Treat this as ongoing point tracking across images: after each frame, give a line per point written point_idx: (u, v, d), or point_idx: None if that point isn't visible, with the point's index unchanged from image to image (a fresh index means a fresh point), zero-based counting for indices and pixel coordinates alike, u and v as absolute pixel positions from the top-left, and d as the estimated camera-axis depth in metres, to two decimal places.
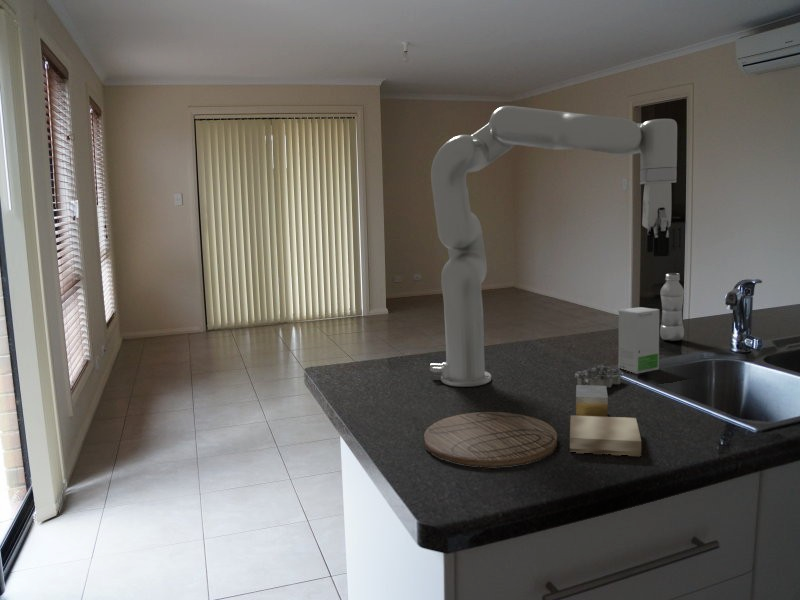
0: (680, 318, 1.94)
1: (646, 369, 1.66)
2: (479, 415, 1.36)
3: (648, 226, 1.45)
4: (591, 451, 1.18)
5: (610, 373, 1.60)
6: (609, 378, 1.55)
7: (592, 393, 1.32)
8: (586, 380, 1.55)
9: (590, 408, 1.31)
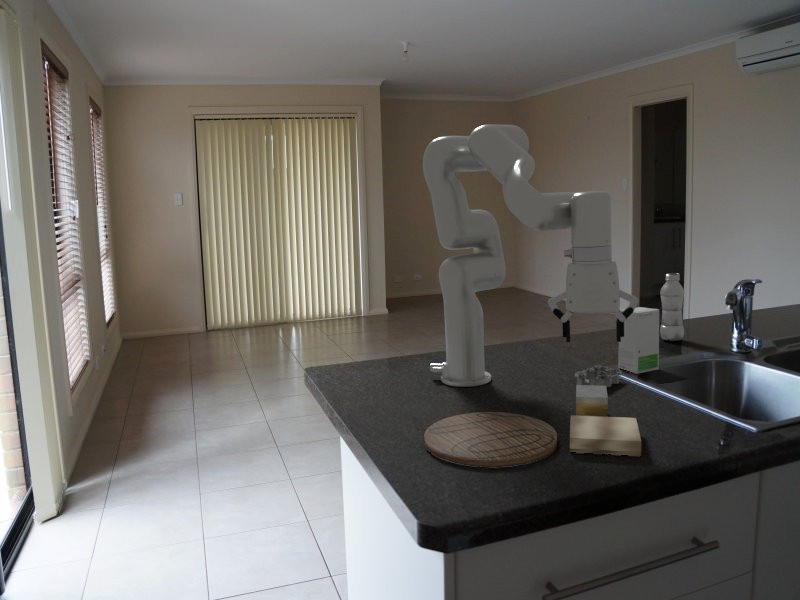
0: (680, 318, 1.94)
1: (646, 369, 1.66)
2: (479, 415, 1.36)
3: (616, 310, 1.28)
4: (591, 451, 1.18)
5: (608, 373, 1.60)
6: (609, 378, 1.55)
7: (592, 393, 1.32)
8: (586, 380, 1.55)
9: (590, 408, 1.31)
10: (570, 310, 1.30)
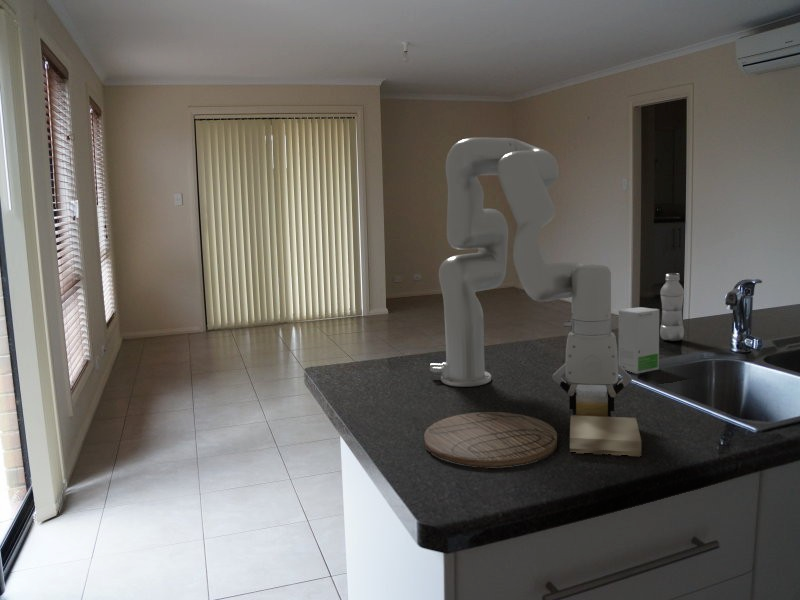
0: (680, 318, 1.94)
1: (646, 369, 1.66)
2: (479, 415, 1.36)
3: (615, 382, 1.30)
4: (591, 451, 1.18)
5: None
6: None
7: (592, 393, 1.33)
8: None
9: (590, 407, 1.31)
10: (569, 381, 1.32)
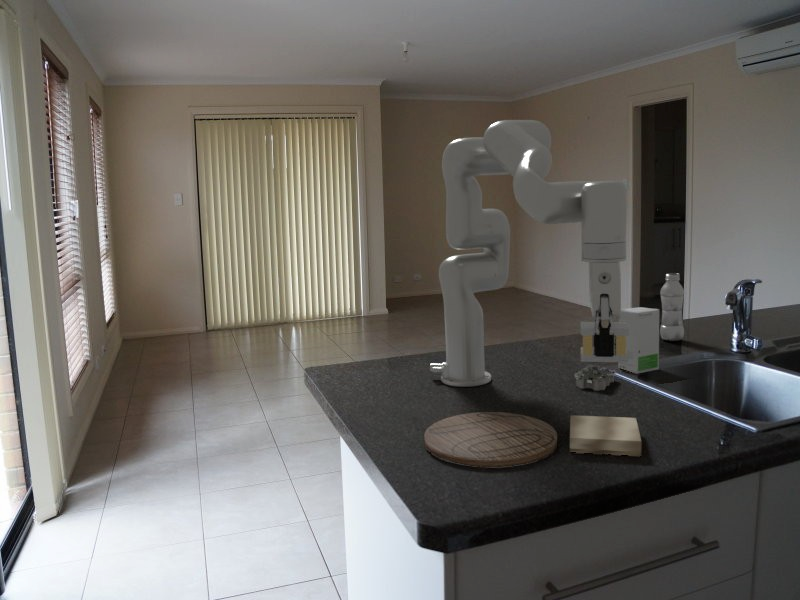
0: (680, 318, 1.94)
1: (646, 369, 1.66)
2: (479, 415, 1.36)
3: None
4: (591, 451, 1.18)
5: (602, 372, 1.61)
6: (608, 377, 1.56)
7: (614, 325, 1.19)
8: (589, 381, 1.54)
9: None
10: (620, 315, 1.14)
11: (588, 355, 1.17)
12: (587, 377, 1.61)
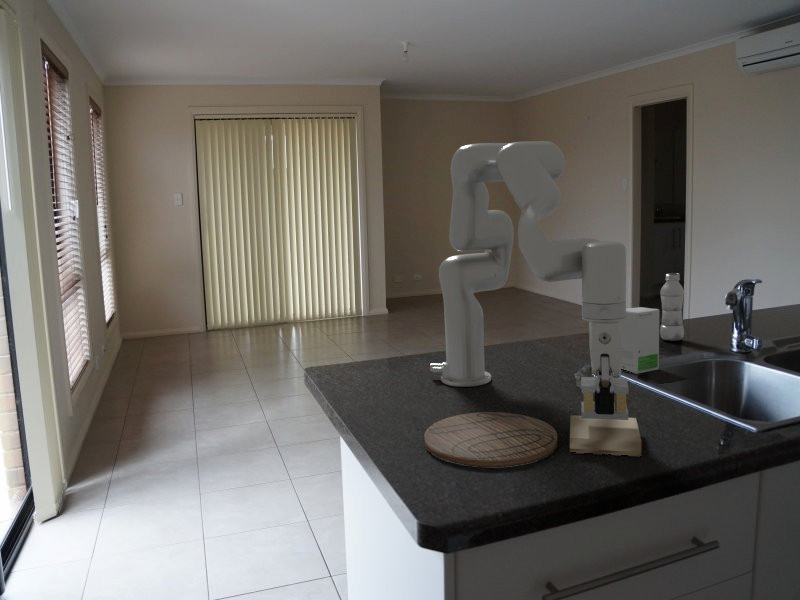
0: (680, 318, 1.94)
1: (646, 369, 1.66)
2: (479, 416, 1.36)
3: None
4: (591, 451, 1.18)
5: None
6: None
7: (614, 382, 1.20)
8: None
9: None
10: (620, 374, 1.15)
11: (589, 412, 1.19)
12: None
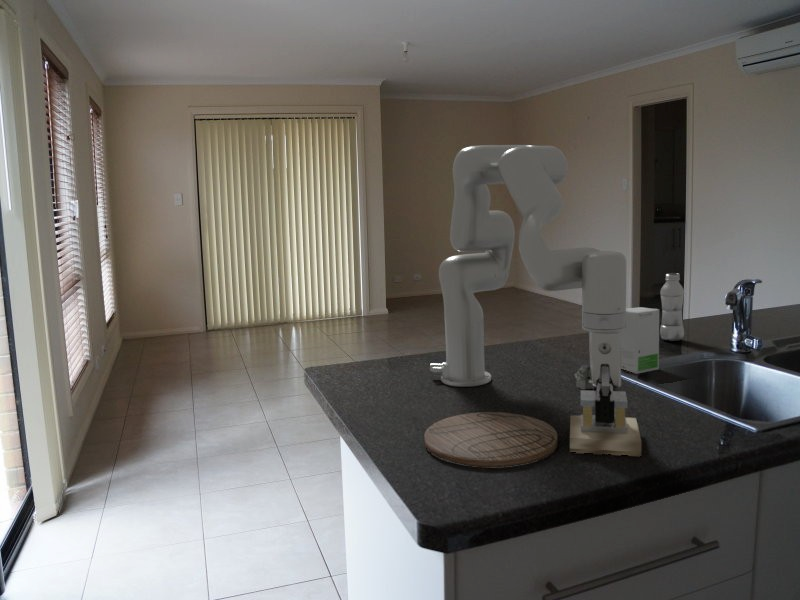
0: (680, 318, 1.94)
1: (646, 369, 1.66)
2: (479, 416, 1.36)
3: None
4: (591, 451, 1.18)
5: None
6: None
7: (613, 395, 1.21)
8: (590, 381, 1.54)
9: None
10: (620, 384, 1.16)
11: (588, 426, 1.20)
12: (584, 377, 1.61)
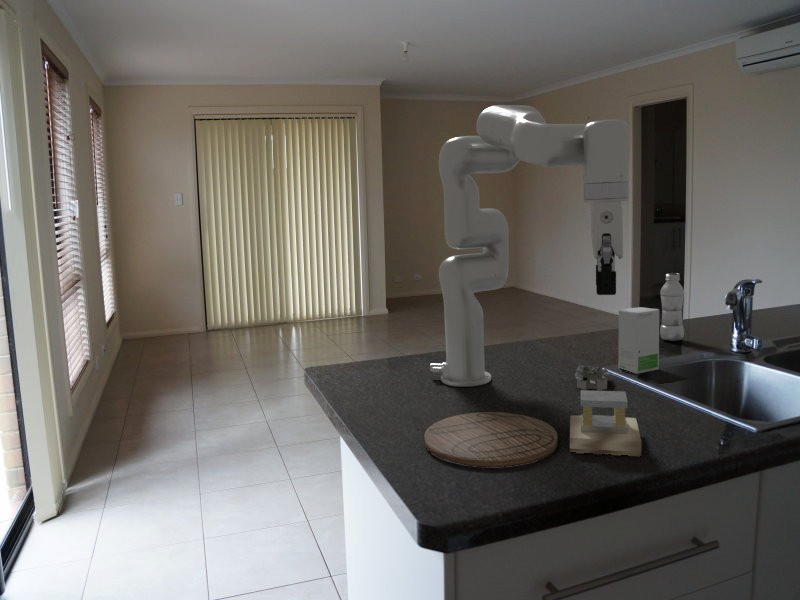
0: (680, 318, 1.94)
1: (646, 369, 1.66)
2: (479, 416, 1.36)
3: None
4: (591, 451, 1.18)
5: None
6: (606, 376, 1.57)
7: (613, 395, 1.21)
8: (591, 381, 1.54)
9: None
10: (622, 255, 1.13)
11: (588, 426, 1.20)
12: None
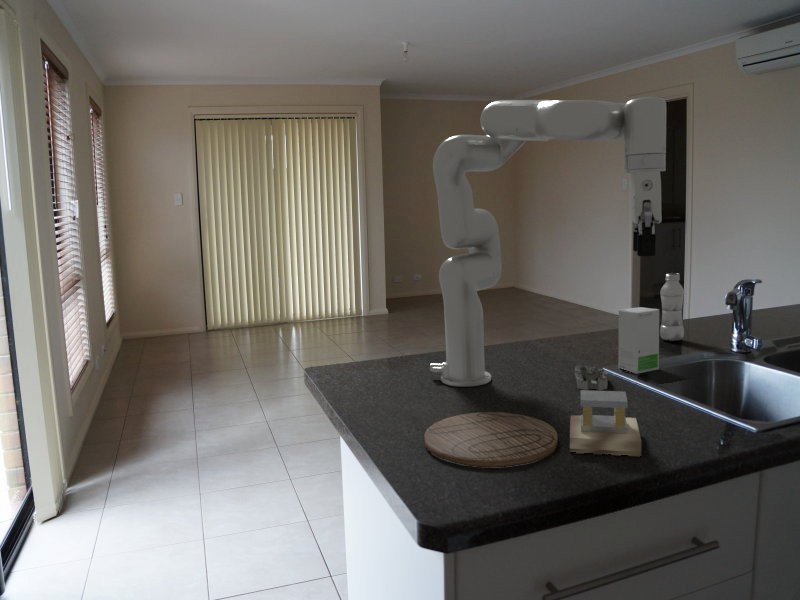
0: (680, 318, 1.94)
1: (646, 369, 1.66)
2: (479, 416, 1.36)
3: None
4: (591, 451, 1.18)
5: None
6: None
7: (613, 395, 1.21)
8: (592, 381, 1.54)
9: None
10: (661, 219, 1.24)
11: (588, 426, 1.20)
12: None
